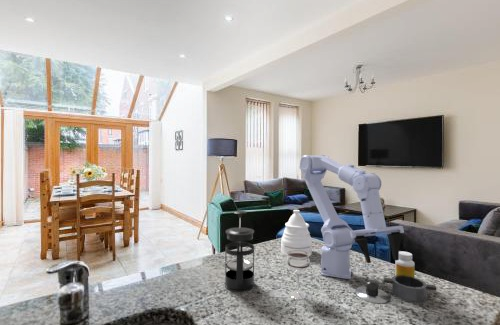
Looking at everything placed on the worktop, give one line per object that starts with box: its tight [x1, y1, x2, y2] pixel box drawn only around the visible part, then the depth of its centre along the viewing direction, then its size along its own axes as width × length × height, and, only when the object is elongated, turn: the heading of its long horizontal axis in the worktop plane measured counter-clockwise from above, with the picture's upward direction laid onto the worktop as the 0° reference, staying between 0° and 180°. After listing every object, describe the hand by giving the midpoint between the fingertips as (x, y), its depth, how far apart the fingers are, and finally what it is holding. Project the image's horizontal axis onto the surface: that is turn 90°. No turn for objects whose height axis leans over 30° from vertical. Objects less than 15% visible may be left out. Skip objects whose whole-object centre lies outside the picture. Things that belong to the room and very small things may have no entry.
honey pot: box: [280, 209, 313, 257], centre depth 116 cm, size 13×13×18 cm
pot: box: [383, 274, 437, 304], centre depth 80 cm, size 13×9×4 cm, turn 69°
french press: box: [224, 210, 255, 293], centre depth 85 cm, size 12×9×23 cm
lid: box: [354, 279, 390, 304], centre depth 80 cm, size 9×9×4 cm
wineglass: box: [286, 250, 311, 300], centre depth 80 cm, size 7×7×12 cm
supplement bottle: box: [394, 250, 416, 277], centre depth 87 cm, size 5×5×10 cm
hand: (382, 261), depth 79 cm, fingers open, 7 cm apart
